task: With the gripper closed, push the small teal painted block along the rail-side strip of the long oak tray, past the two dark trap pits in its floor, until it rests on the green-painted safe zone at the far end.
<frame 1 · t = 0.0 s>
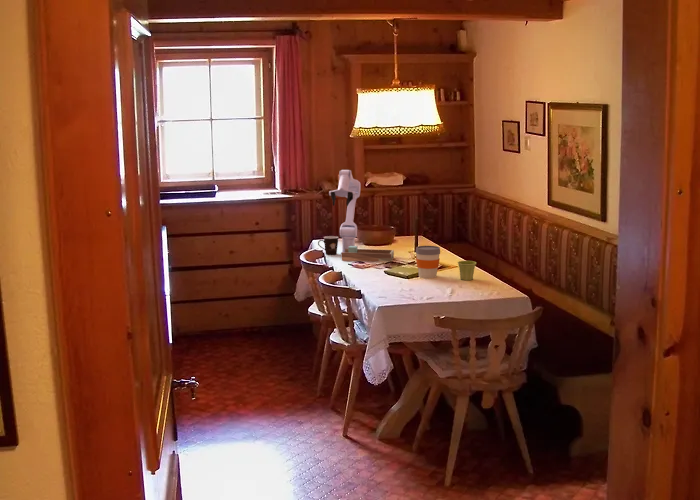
hand: (340, 204, 471), 32 cm above the table, tool tilted 50°, fingers open, 7 cm apart
coffee mug: (328, 254, 501), on the table
trap tray: (367, 259, 485), on the table
reusable coffee cup: (427, 276, 438), on the table
teal block: (352, 254, 489), point 2 cm above the table, touching trap tray
plant pot: (466, 279, 431), on the table
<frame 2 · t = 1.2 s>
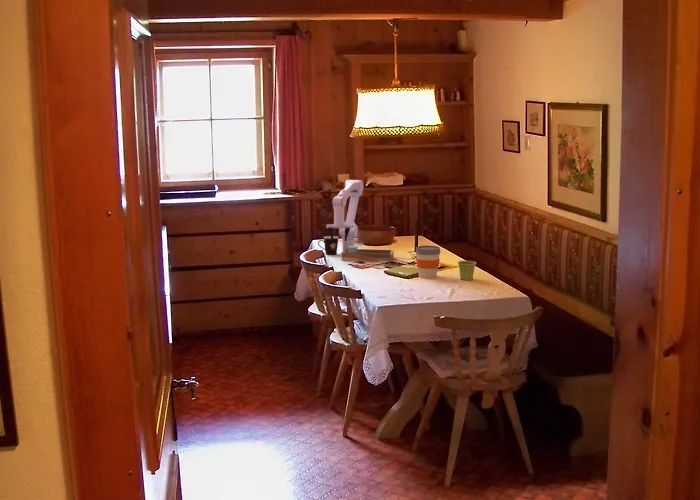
hand: (339, 240, 488), 10 cm above the table, tool pointing down, fingers open, 7 cm apart
nothing on the table moved.
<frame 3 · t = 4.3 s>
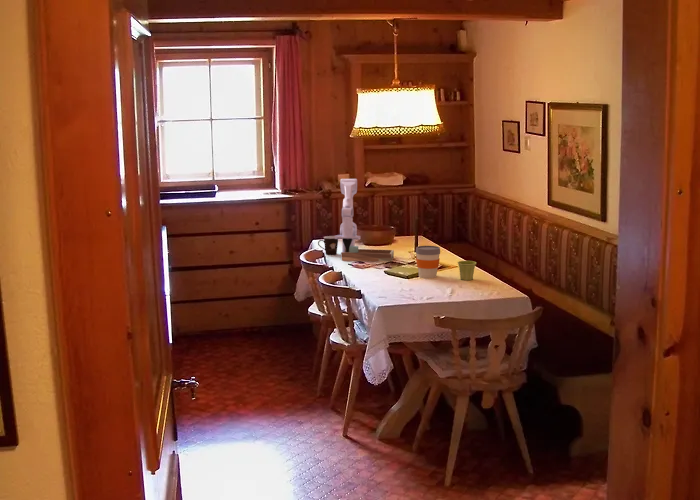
hand: (347, 251, 489), 3 cm above the table, tool pointing down, fingers closed
teal block: (353, 254, 489), point 2 cm above the table, touching gripper, trap tray
everything else where it was.
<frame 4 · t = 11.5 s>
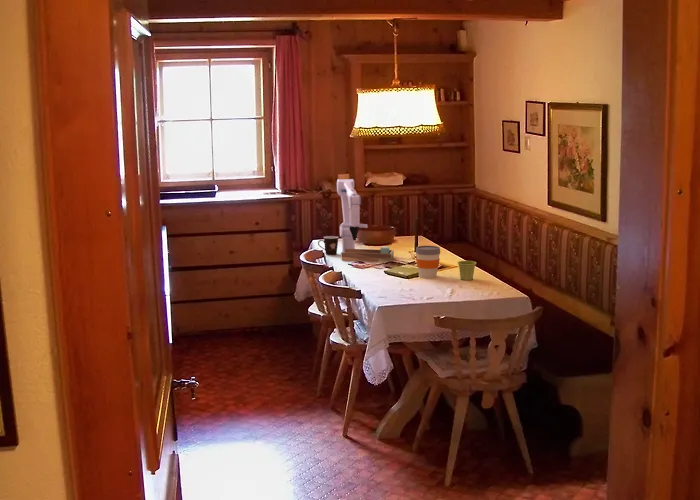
hand: (354, 240, 487), 10 cm above the table, tool pointing down, fingers closed
teal block: (384, 255, 486), point 2 cm above the table, touching trap tray
everything else where it was.
at the end: teal block 0.5 cm from the target spot, point 2.0 cm above the table; teal block tilted 0° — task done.
